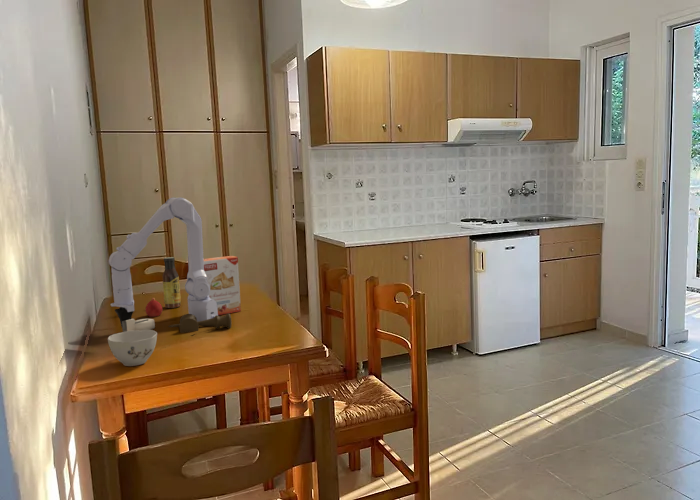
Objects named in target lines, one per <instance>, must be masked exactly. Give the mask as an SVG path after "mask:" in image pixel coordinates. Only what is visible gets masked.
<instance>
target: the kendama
mask: <svg viewBox="0 0 700 500" xmlns="http://www.w3.org/2000/svg"><path fill="white" fill-rule="evenodd" d="M167 327H168V328H179V332H180V334H181V333H182V334H183V333H192V332H198V331H199V327H213V328H216V329H220V328H228V329H231V328H232V316H231V313H228V314H224V315H218V316H217V315H216V316H215V317H214V318H211V319H207V320H203V321H198V322H197V319H196V317H195V315H192V314H189V313H185V314H184V315H183V314H182V316H181V317H180V320H179V323H175V324H170V325H168V326H167ZM195 335H196V333H193V334H191V335H190V336H191V337H193V336H195Z"/></svg>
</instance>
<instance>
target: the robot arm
mask: <svg viewBox="0 0 700 500" xmlns="http://www.w3.org/2000/svg"><path fill="white" fill-rule="evenodd" d="M174 218H177V219H179V220H180V221H181V222H182V223H184V225H185V226H186V240H187V241H186V242H187V243H186V244H187V263H188V264H187V266H188V272H187V275H186V282H185V284H184V289H185V292H186V293H187V294H188V296H187V307H188V308H187V309H188V310H187V311H188V314H192V315H195V317H196V319H197V322H198V321H203V320H207V319H211V318H214V317H215V316H216V315H217V316H219V315H218V310H217V303H216V301H215V300H213V299H210V298H209V293H210V286H209V284H208V282H207V276H206V274H205V271H204V259H205V258H204V240H203V238H204V237H203V219H202V218H201V216H200V215H199V213H198V212H197V210H196V208H195V206H194V204H193V203H192V202H191V201H190V200H188V199H187V198H184V197H169V198H168V199H166V201H165V203H163V204H162V205H160V207H158V209H157V210H156V211H154V214H152V216H151V217H150V218H149V219H148V220H147V222H145V224H144V225H143V226H142V228H141V229H140V230H139V231H138V232H132V233H131V234H127V235H126V239H125V241H123V243H122V244H121V245H120V246H117V247H115V249H116V251H113V252H112V253H111V254H110V255H109V259H108V261H107V262H108V265H109V266H110V267H111V269H110V270H111V283H112V291H113V301H114V302H112V303H110V306H111V307H117V308H116V309H114V312H115V314H116V315H117V316H118V317H117V318H118V319H119V322H120V327H121V329H122V330H123V328H122V321H125V320H129V319H132V316H133V314H134V312H135V300H134V293H133V292H134V291H133V283H132V274H131V266H132V264H133V263H132V262H133V261H132V260H134V259H135V258H136V257H137V256H138V255H139V254H140V253H141V251H143V250H144V249H145V248H146V246H147V244H148V238H149V237H150V236H151V235H152V234H153V233H154V232H155V231H156V230H157V229H158V228H159V226H161V225H162V223H164V222H166V221H167V220H172V219H174Z"/></svg>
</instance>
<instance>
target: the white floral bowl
mask: <svg viewBox="0 0 700 500" xmlns="http://www.w3.org/2000/svg"><path fill="white" fill-rule="evenodd" d="M157 339H158V332H157V331H155V330H153V329H151V330H141V331H139V330H132V331H126V332H123V331H122V332H118V333H113V334H111V335H109V336H108V337H107V344H108V346H109V350H110V351H111V353H112V355H113V356H114V357H115V359H116V360H118V361H119V363H121V364H123V366H125V367H135V366H139V365H144V364H145V363H146V362H147V361H148V360H149V358H151V356H152V354H153V353H154V351H155V347H156V345H157Z"/></svg>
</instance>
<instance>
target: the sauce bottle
mask: <svg viewBox="0 0 700 500" xmlns="http://www.w3.org/2000/svg"><path fill="white" fill-rule="evenodd" d="M163 262H164V271H163V272H162V273H163V274H162V291H163V301H164V302H163V303H164V307H165V308H166V309H176V308H179V307H181V299H182V298H181V289H180V286H181V285H180V277H179V274H178V271H177V270H176V266H175V257H174V256H171V257H164V258H163Z"/></svg>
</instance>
